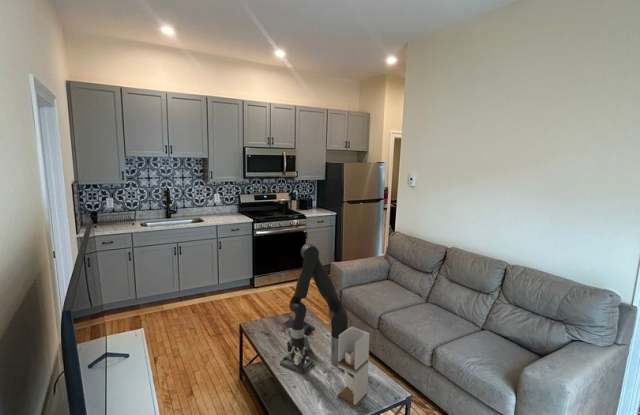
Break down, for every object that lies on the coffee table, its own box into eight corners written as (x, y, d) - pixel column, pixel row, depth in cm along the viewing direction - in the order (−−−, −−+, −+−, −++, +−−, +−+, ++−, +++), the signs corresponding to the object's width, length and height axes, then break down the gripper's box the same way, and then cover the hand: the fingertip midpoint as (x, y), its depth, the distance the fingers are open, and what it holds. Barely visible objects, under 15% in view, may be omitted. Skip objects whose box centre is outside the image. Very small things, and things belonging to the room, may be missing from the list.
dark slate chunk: (299, 318, 252) (299, 312, 251) (316, 331, 234) (316, 324, 233) (281, 324, 243) (281, 318, 242) (297, 338, 226) (297, 331, 225)
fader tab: (301, 361, 196) (301, 353, 195) (297, 365, 192) (297, 357, 191) (298, 360, 197) (298, 352, 196) (294, 364, 194) (294, 356, 193)
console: (314, 362, 199) (314, 357, 198) (302, 374, 189) (302, 368, 188) (292, 354, 207) (292, 348, 206) (280, 364, 197) (279, 359, 196)
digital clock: (311, 349, 212) (311, 334, 210) (300, 355, 206) (299, 339, 204) (297, 338, 224) (297, 323, 222) (285, 343, 219) (285, 328, 217)
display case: (350, 386, 179) (351, 326, 173) (367, 395, 173) (369, 333, 167) (337, 398, 171) (338, 335, 164) (354, 408, 164) (356, 343, 158)
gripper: (311, 335, 191) (311, 361, 194) (291, 327, 198) (291, 353, 201) (304, 341, 185) (304, 368, 188) (283, 333, 192) (283, 360, 195)
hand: (297, 360), depth 195 cm, fingers open, 6 cm apart
